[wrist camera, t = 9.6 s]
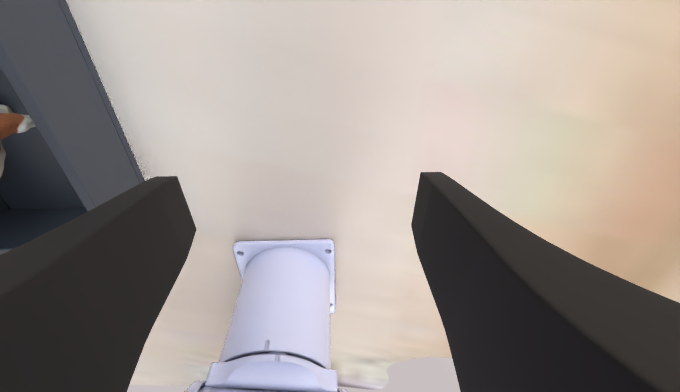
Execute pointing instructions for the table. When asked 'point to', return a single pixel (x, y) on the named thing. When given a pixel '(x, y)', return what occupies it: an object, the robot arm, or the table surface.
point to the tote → (55, 125)
